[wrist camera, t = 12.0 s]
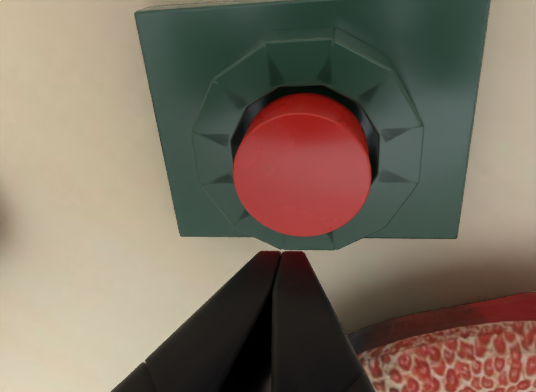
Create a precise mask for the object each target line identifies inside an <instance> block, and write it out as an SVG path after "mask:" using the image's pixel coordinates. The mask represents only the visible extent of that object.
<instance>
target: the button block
mask: <svg viewBox="0 0 536 392" xmlns="http://www.w3.org/2000/svg"><path fill="white" fill-rule="evenodd" d="M490 1H491V0H233V1H220V2H206V3H193V4H179V5H166V6H152V7H147V8H144V9H141V10H138V11H136V12H135V14H134V15H135V20H136V25H137V30H138V34H139V39H140V44H141V49H142V54H143V59H144V64H145V68H146V73H147V78H148V83H149V88H150V93H151V98H152V102H153V107H154V112H155V117H156V122H157V127H158V132H159V136H160V141H161V146H162V151H163V156H164V161H165V165H166V170H167V175H168V180H169V185H170V190H171V195H172V199H173V204H174V209H175V214H176V219H177V224H178V229H179V233H180V236H181V237H255V238H257V239H259V240H261V241H263V242H266V243H268V244H270V245H272V246H274V247H276V248H278V249H284V250H335V249H336V250H338V249H340V248H342V247H344V246H347V245H349V244H351V243H353V242H355V241H358V240H360V239H362V238H410V239H456V238H457V236H458V230H459V223H460V215H461V208H462V201H463V194H464V187H465V180H466V173H467V165H468V158H469V151H470V144H471V137H472V130H473V122H474V115H475V108H476V101H477V94H478V87H479V80H480V72H481V65H482V58H483V51H484V44H485V37H486V30H487V22H488V15H489V8H490ZM294 93H315V94H320V95H324V96H327V97H330V98H332V99H334V100H336V101H338V102H340V103H341V104H343V105H344V106H345V107H347V108H348V109H349V110H350V111H351V112H352V113H353V114H354V115H355V116H356V118H357V119H358V121H359V122H360V124H361V126H362V128H363V130H364V132H365V135H366V139H367V144H368V151H369V158H370V166H371V186H370V190H369V194H368V197H367V199H366V201H365V203H364V205H363V206H362V208H361V209H360V211H359V212H358V213H357V214H356V215H355V216H354V217H353V218H352V219H351V220H350V221H349V222H347V223H346V224H345V225H343V226H342V227H340V228H338V229H336V230H334V231H331V232H329V233H326V234H322V235H317V236H307V237H301V236H292V235H286V234H283V233H279V232H277V231H274V230H272V229H270V228H268V227H266V226H264V225H263V224H261V223H260V222H259V221H257V220H256V219H255V218H254V217H253V216H252V215H251V214H250V213H249V212H248V211H247V210H246V209H245V207H244V206H243V204H242V203H241V201H240V199H239V197H238V195H237V192H236V189H235V186H234V181H233V164H234V159H235V155H236V153H237V150H238V148H239V146H240V144H241V142H242V140H243V138H244V135H245V133H246V131H247V129H248V127H249V125H250V123H251V122H252V120H253V118H254V117H255V116H256V115H257V113H258V112H259V111H260V110H261V109H262V108H263V107H265V106H266V105H267V104H269V103H270V102H272V101H274V100H276V99H277V98H280V97H283V96H285V95H289V94H294Z"/></svg>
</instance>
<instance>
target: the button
mask: <svg viewBox="0 0 536 392" xmlns="http://www.w3.org/2000/svg"><path fill="white" fill-rule="evenodd" d="M233 181H234V186H235V189H236V192H237V195H238V197H239V199H240V201H241V203H242V204H243V206H244V207H245V209H246V210H247V211H248V212H249V213H250V214H251V215H252V216H253V217H254V218H255V219H256V220H257V221H259V222H260V223H261V224H263V225H264V226H266V227H268V228H270V229H272V230H274V231H277V232H279V233H283V234H286V235H292V236H301V237H307V236H317V235H322V234H326V233H329V232H331V231H334V230H336V229H338V228H340V227H342V226H343V225H345V224H346V223H347V222H349V221H350V220H351V219H352V218H353V217H354V216H355V215H356V214H357V213H358V212H359V211H360V209H361V208H362V206H363V205H364V203H365V201H366V199H367V197H368V194H369V190H370V186H371V166H370V158H369V151H368V144H367V139H366V135H365V132H364V130H363V128H362V126H361V124H360V122H359V121H358V119H357V118H356V116H355V115H354V114H353V113H352V112H351V111H350V110H349V109H348V108H347V107H345V106H344V105H343V104H341V103H340V102H338V101H336V100H334V99H332V98H330V97H327V96H324V95H320V94H315V93H294V94H289V95H285V96H283V97H280V98H277V99H276V100H274V101H272V102H270V103H269V104H267V105H266V106H265V107H263V108H262V109H261V110H260V111H259V112H258V113H257V115H256V116H255V117H254V118H253V120H252V122H251V123H250V125H249V127H248V129H247V131H246V133H245V135H244V138H243V140H242V142H241V144H240V146H239V148H238V150H237V153H236V155H235V159H234V164H233Z"/></svg>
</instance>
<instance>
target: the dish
mask: <svg viewBox="0 0 536 392" xmlns="http://www.w3.org/2000/svg"><path fill="white" fill-rule="evenodd" d="M347 337H348V339H349V341H350V343H351V345H352V347H353V349H354V351H355V353H356V355H357V356H358V358H359V360H360V362H361V364H362V366H363V368H364V370H365V374H366V375H367V376H368V377H369V379H370V381H371V383H372V385H373V387H374V389H375V391H376V392H536V292H533V293H521V294H516V295H511V296H507V297H502V298H498V299H493V300H488V301H483V302H477V303H472V304H466V305H460V306H454V307H448V308H443V309H437V310H431V311H425V312H421V313H416V314H412V315H407V316H403V317H398V318H394V319H391V320H388V321H385V322H382V323H379V324H375V325H372V326H369V327H366V328H363V329H361V330H358V331H356V332H354V333H352V334H350V335H347Z"/></svg>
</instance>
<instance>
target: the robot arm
mask: <svg viewBox="0 0 536 392" xmlns="http://www.w3.org/2000/svg"><path fill="white" fill-rule="evenodd" d="M145 362H146V363H144V362H143V363H141V364H140V365H139V366H138V367H137V368H136V369H135V370H134V371H133V372H132V373H130V374H129V375H128V376H127V377H126V378H125V379H124V380H123V381H122V382H121V383H120V384H118V385H117V386H116V387H115V388H114V389H113V390H112V391H111V392H376V391H375V389H374V387H373V385H372V383H371V381H370V379H369V377H368V376H367V375H366V374H365V370H364V368H363V366H362V364H361V362H360V360H359V358H358V356H357V355H356V353H355V351H354V349H353V347H352V345H351V343H350V341H349V339H348V337H347V335H346V333H345V331H344V329H343V327H342V325H341V323H340V321H339V319H338V317H337V315H336V314H335V312H334V310H333V308H332V306H331V304H330V302H329V300H328V298H327V296H326V294H325V292H324V290H323V288H322V286H321V284H320V282H319V280H318V278H317V276H316V274H315V272H314V271H313V269H312V267H311V265H310V263H309V261H308V259H307V257H306V255H305V253H304V252H302V251H284V252H283V253H282V254H281V252H279V251H260V252H258V253H257V254H256V255H255V256H254V257H253V258H252V259H251V260H250V261H249V262H248V263H247V264H246V265H245V266H244V267H242V268H241V269H240V270H239V271H238V272H237V273H236V274H235V275H234V276H233V277H232V278H231V279H230V280H229V281H228V282H227V283H226V284H225V285H224V286H222V287H221V288H220V289H219V290H218V291H217V292H216V293H215V294H214V295H213V296H212V297H211V298H210V299H209V300H208V301H207V302H206V303H205V304H203V305H202V306H201V307H200V308H199V309H198V310H197V311H196V312H195V313H194V314H193V315H192V316H191V317H190V318H189V319H188V320H187V321H186V322H185V323H183V324H182V325H181V326H180V327H179V328H178V329H177V330H176V331H175V332H174V333H173V334H172V335H171V336H170V337H169V338H168V339H167V340H166V341H164V342H163V343H162V344H161V345H160V346H159V347H158V348H157V349H156V350H155V351H154V352H153V353H152V354H151V355H150V356H149V357H148V358H147V359H146V360H145Z"/></svg>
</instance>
